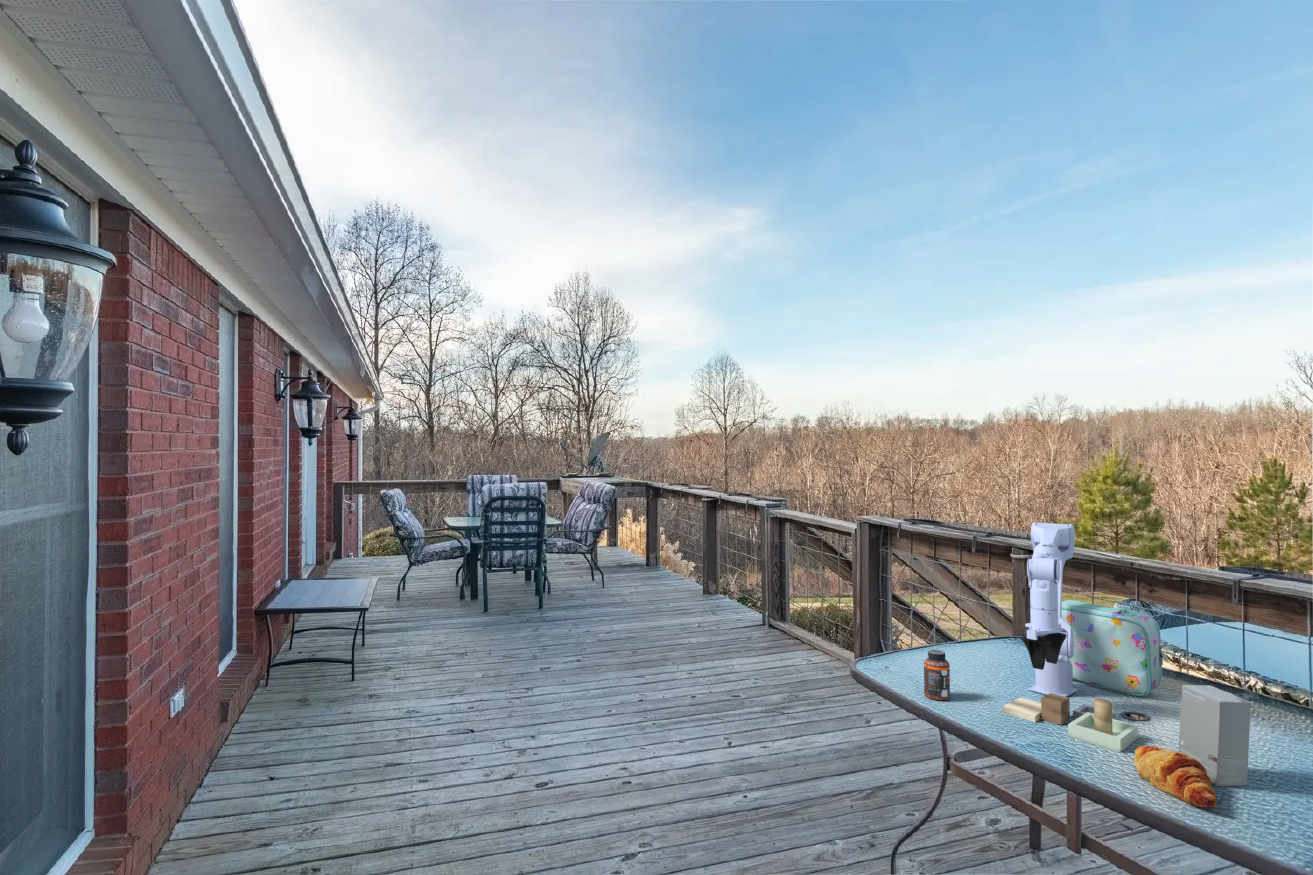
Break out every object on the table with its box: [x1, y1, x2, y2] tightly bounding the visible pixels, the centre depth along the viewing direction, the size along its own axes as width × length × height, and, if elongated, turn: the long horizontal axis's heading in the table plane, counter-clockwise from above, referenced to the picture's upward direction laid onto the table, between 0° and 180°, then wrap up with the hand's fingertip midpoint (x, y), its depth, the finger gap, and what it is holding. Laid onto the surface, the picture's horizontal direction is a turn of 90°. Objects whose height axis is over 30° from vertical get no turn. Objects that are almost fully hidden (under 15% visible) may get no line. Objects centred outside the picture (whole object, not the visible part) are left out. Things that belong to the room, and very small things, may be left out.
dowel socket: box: [1072, 704, 1116, 720], centre depth 148 cm, size 6×6×2 cm
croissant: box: [1133, 745, 1218, 808], centre depth 118 cm, size 21×10×8 cm, turn 172°
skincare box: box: [1177, 684, 1252, 787], centre depth 122 cm, size 8×7×16 cm
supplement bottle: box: [923, 649, 951, 702], centre depth 162 cm, size 6×6×11 cm
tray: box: [1067, 712, 1139, 753], centre depth 138 cm, size 11×10×3 cm
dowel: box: [1093, 698, 1113, 735], centre depth 138 cm, size 3×3×7 cm
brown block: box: [1040, 693, 1071, 726], centre depth 147 cm, size 5×4×5 cm
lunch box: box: [1061, 599, 1168, 697], centre depth 171 cm, size 27×10×21 cm, turn 34°
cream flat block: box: [1002, 696, 1042, 723], centre depth 152 cm, size 10×7×2 cm
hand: (1044, 665), depth 154 cm, fingers open, 7 cm apart
